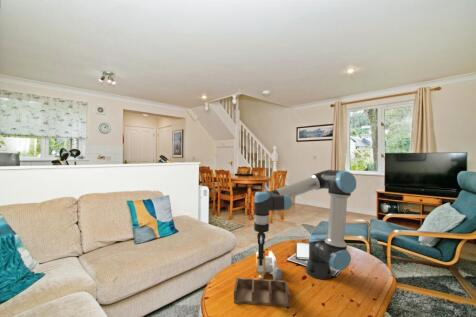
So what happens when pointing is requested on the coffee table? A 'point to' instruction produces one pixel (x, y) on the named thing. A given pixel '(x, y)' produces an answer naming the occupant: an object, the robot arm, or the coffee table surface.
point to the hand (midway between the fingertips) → (260, 268)
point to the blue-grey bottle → (277, 274)
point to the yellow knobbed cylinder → (257, 266)
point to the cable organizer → (269, 263)
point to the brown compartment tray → (261, 292)
